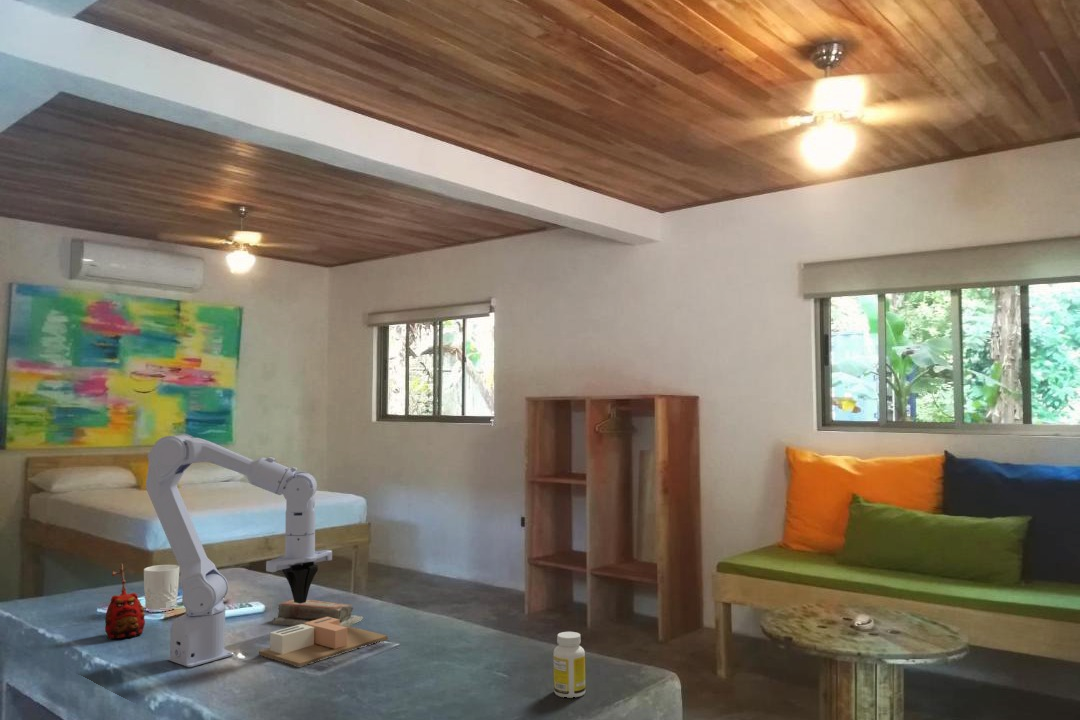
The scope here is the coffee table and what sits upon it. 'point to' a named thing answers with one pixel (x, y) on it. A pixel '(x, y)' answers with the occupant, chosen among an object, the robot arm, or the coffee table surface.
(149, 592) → the white cup
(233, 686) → the coffee table surface
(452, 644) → the coffee table surface
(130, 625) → the red clay folk toy
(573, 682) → the supplement bottle
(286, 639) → the white toaster
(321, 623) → the block
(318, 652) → the board
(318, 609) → the packaged product
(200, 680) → the coffee table surface
